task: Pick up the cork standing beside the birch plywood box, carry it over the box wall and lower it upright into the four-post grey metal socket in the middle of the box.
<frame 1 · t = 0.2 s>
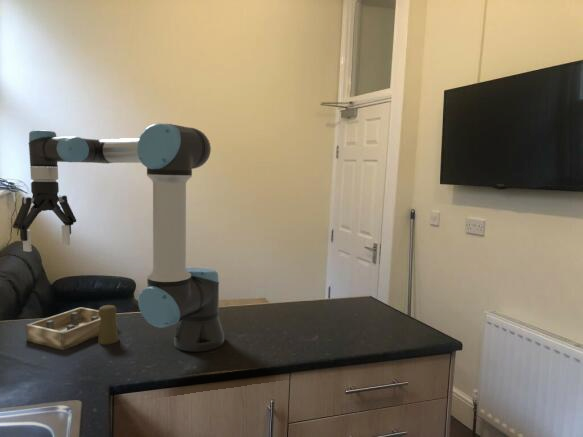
hand: (47, 247, 140), 27 cm above the worktop, fingers open, 13 cm apart
socket box: (73, 334, 141), on the worktop
cork: (108, 341, 136), on the worktop
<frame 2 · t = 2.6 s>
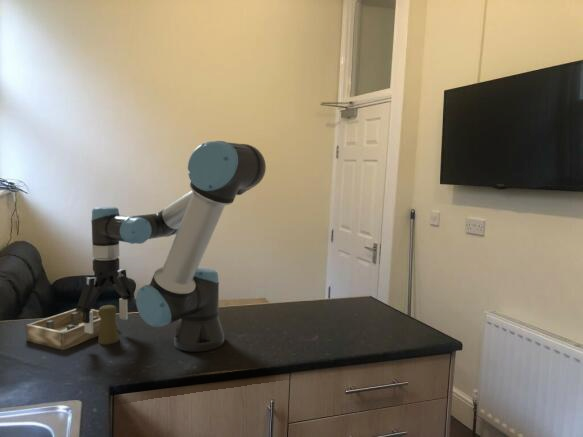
hand: (107, 325, 136), 5 cm above the worktop, fingers open, 13 cm apart
nothing on the worktop moved.
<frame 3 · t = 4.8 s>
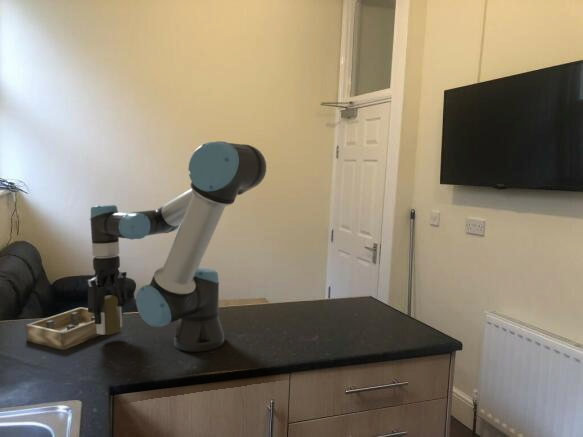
hand: (109, 330, 136), 3 cm above the worktop, fingers closed on cork, 6 cm apart
cork: (110, 331, 136), point 3 cm above the worktop, touching gripper
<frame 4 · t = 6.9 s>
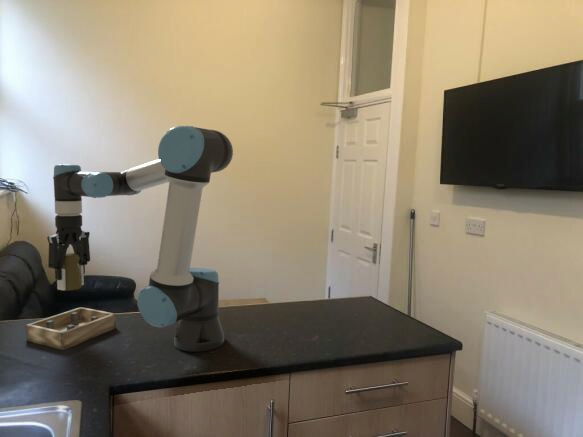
hand: (70, 287, 139), 15 cm above the worktop, fingers closed on cork, 6 cm apart
cork: (71, 288, 139), point 15 cm above the worktop, touching gripper
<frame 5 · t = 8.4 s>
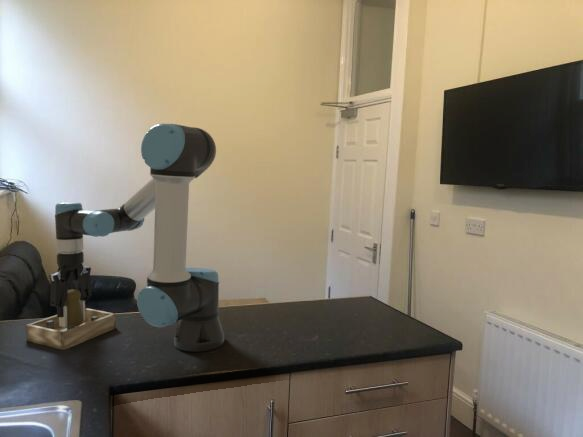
hand: (72, 322, 141), 4 cm above the worktop, fingers closed on cork, 6 cm apart
cork: (72, 324, 141), point 3 cm above the worktop, touching gripper
when the fingers open (3 cm above the worktop, at t = 9.3 s): cork drops 1 cm, resting on socket box.
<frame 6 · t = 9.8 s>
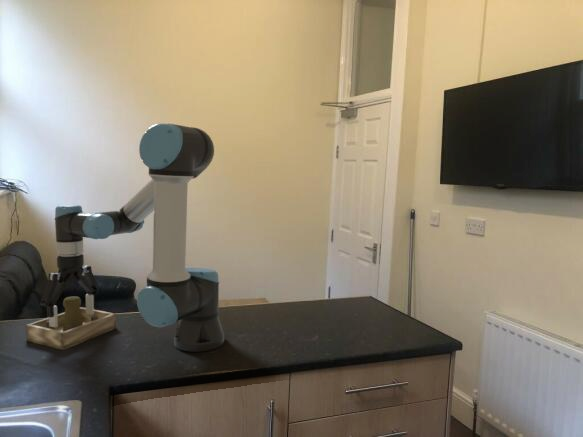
hand: (72, 320, 140), 5 cm above the worktop, fingers open, 13 cm apart
cork: (73, 331, 141), point 1 cm above the worktop, touching socket box
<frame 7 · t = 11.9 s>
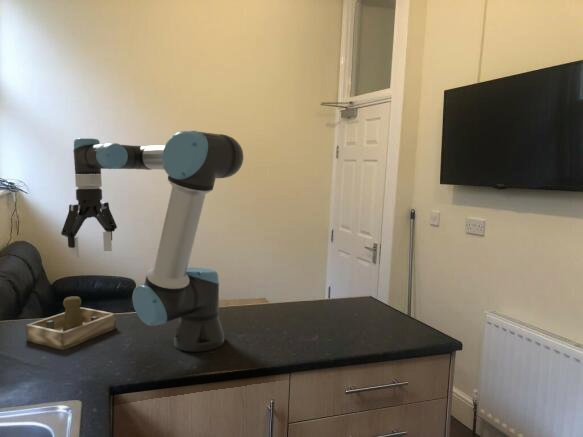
hand: (91, 254, 141), 25 cm above the worktop, fingers open, 13 cm apart
nothing on the worktop moved.
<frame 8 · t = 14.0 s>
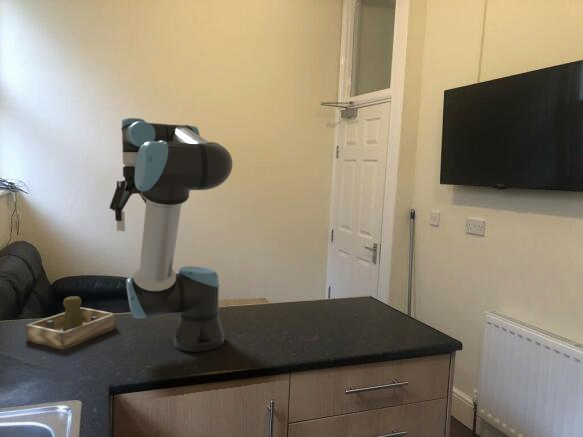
hand: (135, 228, 150), 33 cm above the worktop, fingers open, 13 cm apart
nothing on the worktop moved.
at the end: cork 0.2 cm from the socket box (horizontally); cork tilted 0°; the gripper is holding nothing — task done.
